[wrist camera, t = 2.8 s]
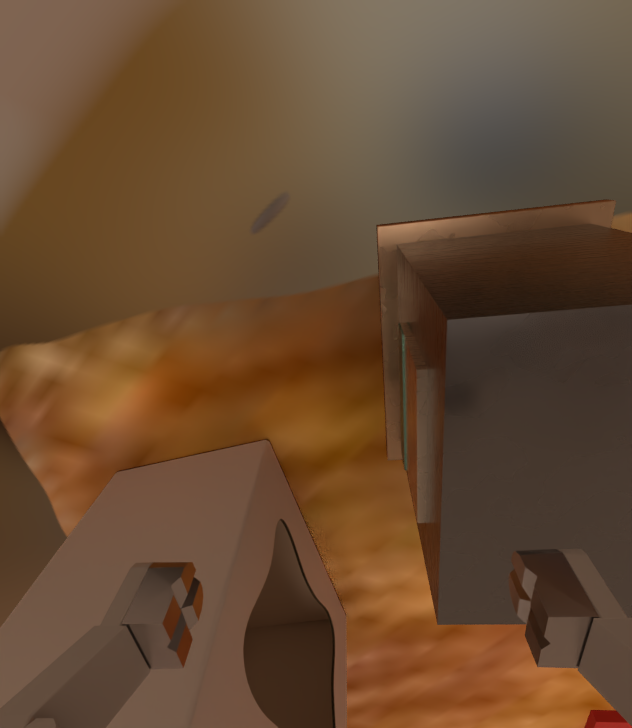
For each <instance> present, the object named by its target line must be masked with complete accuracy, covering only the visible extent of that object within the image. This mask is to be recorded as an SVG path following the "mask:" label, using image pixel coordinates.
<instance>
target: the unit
mask: <svg viewBox="0 0 632 728" xmlns="http://www.w3.org/2000/svg"><path fill="white" fill-rule="evenodd" d="M615 203H616V201H614V200H598V201H589V202H580V203H571V204H563V205H553V206H544V207H535V208H526V209H518V210H508V211H500V212H490V213H481V214H472V215H463V216H453V217H445V218H435V219H426V220H417V221H408V222H399V223H391V224H382V225H377V247H378V269H379V292H380V314H381V335H382V357H383V379H384V401H385V423H386V445H387V457H388V460H403V464H404V469H405V470H406V471H407V476H408V481H409V486H410V491H411V496H412V501H413V506H414V511H415V516H416V521H417V526H418V530H419V535H420V540H421V545H422V550H423V555H424V560H425V565H426V570H427V575H428V580H429V585H430V590H431V595H432V600H433V605H434V609H435V614H436V619H437V624H438V625H449V624H526V623H525V622H524V621H523V620H521V619H520V618H519V617H518V616H517V614H516V611H515V609H514V606H513V603H512V600H511V596H510V590H509V573H510V572H512V571H513V570H514V566H513V564H512V562H511V559H512V554H513V552H514V551H522V550H543V549H557V550H559V549H582V550H583V551H584V552H586V554H587V555H588V557H589V558H590V560H591V561H592V563H593V565H594V566H595V568H596V569H597V571H598V572H599V574H600V575H601V577H602V579H603V580H604V582H605V583H606V585H607V586H608V588H609V589H610V591H611V592H612V594H613V596H614V597H615V599H616V600H617V602H618V603H619V605H620V606H621V608H622V610H623V611H624V613H625V614H626V616H627V617H630V618H632V233H629V232H625V231H621V230H617V229H612V228H611V224H612V219H613V214H614V209H615Z"/></svg>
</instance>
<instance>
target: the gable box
mask: <svg viewBox="0 0 632 728" xmlns="http://www.w3.org/2000/svg"><path fill="white" fill-rule="evenodd" d="M145 562H193V564H194V567H195V569H196V572H195V575H194V577H195V578H196V579H197V580H199V581H200V582H201V585H202V588H203V604H202V611H201V614H200V617H199V621H198V622H197V623H196V624H195V625H194V626H193V627H192V628H191V629H190V632H191V635H192V639H193V640H192V643H191V646H190V650H189V653H188V656H187V659H186V662H185V665H184V668H179V669H151V670H150V671H151V672H150V673H149V675H148V676H147V677H146V678H145V680H144V681H143V682H142V683H141V685H140V686H139V687H138V688H137V690H136V691H135V692H134V693H133V694H132V696H131V697H130V698H129V699H128V701H127V702H126V703H125V704H124V706H123V707H122V708H121V709H120V711H119V712H118V713H117V714H116V716H115V717H114V718H113V719H112V721H111V722H110V723H109V724H108V726H107V727H106V728H347V659H346V615H345V612H344V610H343V608H342V606H341V603H340V601H339V599H338V596H337V594H336V592H335V590H334V587H333V585H332V583H331V581H330V578H329V576H328V574H327V571H326V569H325V567H324V565H323V562H322V560H321V558H320V555H319V553H318V551H317V549H316V546H315V544H314V542H313V540H312V537H311V535H310V533H309V530H308V528H307V526H306V524H305V521H304V519H303V517H302V515H301V512H300V510H299V508H298V505H297V503H296V501H295V499H294V496H293V494H292V492H291V490H290V487H289V485H288V483H287V480H286V478H285V476H284V474H283V471H282V469H281V467H280V464H279V462H278V460H277V458H276V455H275V453H274V451H273V449H272V446H271V444H270V442H269V441H267V440H262V441H258V442H253V443H248V444H244V445H239V446H235V447H230V448H226V449H221V450H216V451H212V452H207V453H203V454H198V455H193V456H189V457H184V458H180V459H175V460H171V461H166V462H161V463H157V464H152V465H148V466H143V467H138V468H134V469H129V470H125V471H120V472H116V473H115V475H114V476H113V477H112V479H111V480H110V481H109V483H108V484H107V485H106V487H105V488H104V489H103V491H102V492H101V493H100V495H99V496H98V497H97V499H96V500H95V501H94V503H93V504H92V505H91V507H90V508H89V509H88V511H87V512H86V514H85V515H84V516H83V518H82V519H81V520H80V522H79V523H78V524H77V526H76V527H75V528H74V530H73V531H72V532H71V534H70V535H69V536H68V538H67V539H66V541H65V542H64V543H63V544H62V546H61V547H60V549H59V550H58V551H57V553H56V554H55V555H54V557H53V558H52V559H51V561H50V562H49V563H48V565H47V566H46V567H45V569H44V570H43V571H42V573H41V574H40V575H39V577H38V578H37V579H36V581H35V582H34V583H33V585H32V586H31V587H30V589H29V590H28V591H27V593H26V594H25V595H24V597H23V598H22V599H21V601H20V602H19V604H18V605H17V606H16V607H15V609H14V610H13V612H12V613H11V614H10V616H9V617H8V618H7V620H6V621H5V622H4V624H3V625H2V626H1V628H0V708H1V707H2V706H3V705H5V704H6V703H7V702H8V701H9V700H10V699H11V698H13V697H14V696H15V695H16V694H17V693H18V692H19V691H21V690H22V689H23V688H24V687H25V686H26V685H27V684H29V683H30V682H31V681H32V680H33V679H34V678H35V677H37V676H38V675H39V674H40V673H41V672H42V671H43V670H45V669H46V668H47V667H48V666H49V665H50V664H51V663H53V662H54V661H55V660H56V659H57V658H58V657H59V656H60V655H62V654H63V653H64V652H65V651H66V650H67V649H68V648H70V647H71V646H72V645H73V644H74V643H75V642H76V641H78V640H79V639H80V638H81V637H82V636H83V635H84V634H86V633H87V632H88V631H89V630H90V629H91V628H92V627H94V626H100V624H101V622H102V621H103V619H104V617H105V615H106V613H107V611H108V609H109V607H110V605H111V603H112V602H113V600H114V598H115V596H116V594H117V592H118V590H119V588H120V586H121V585H122V583H123V581H124V579H125V577H126V575H127V573H128V571H129V569H130V568H131V567H132V566H133V565H134V564H135V563H145Z"/></svg>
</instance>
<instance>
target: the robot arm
mask: <svg viewBox="0 0 632 728" xmlns="http://www.w3.org/2000/svg"><path fill="white" fill-rule="evenodd" d="M511 562H512V564H513V566H514V570H513V571H512V572H510V573H509V590H510V596H511V600H512V603H513V606H514V609H515V611H516V614H517V616H518V617H519V618H520V619H521V620H523V621H524V622H525V623H526V624H527V626H526V632H525V637H526V639H527V642H528V644H529V647H530V649H531V652H532V654H533V657H534V659H535V662H536V664H537V667H556V668H578V671H579V672H580V673H581V674H582V675H583V676H584V677H585V678H586V679H587V680H588V681H589V682H590V683H591V685H592V686H593V687H594V688H595V689H596V690H597V691H598V692H599V693H600V694H601V695H602V696H603V697H604V698H605V699H606V700H607V701H608V702H609V703H610V704H611V705H612V706H613V707H614V709H615V710H616V711H617V712H618V713H619V714H620V715H621V716H622V717H623V718H624V719H625V720H626V721H627V722H628V723H629V724H630V725H631V726H632V618H630V617H627V616H626V614H625V613H624V611H623V610H622V608H621V606H620V605H619V603H618V602H617V600H616V599H615V597H614V596H613V594H612V592H611V591H610V589H609V588H608V586H607V585H606V583H605V582H604V580H603V579H602V577H601V575H600V574H599V572H598V571H597V569H596V568H595V566H594V565H593V563H592V561H591V560H590V558H589V557H588V555H587V554H586V552H584V551H583V550H582V549H559V550H557V549H543V550H522V551H514V552H513V554H512V559H511ZM195 572H196V569H195V567H194V564H193V562H145V563H135V564H134V565H133V566H132V567H131V568H130V569H129V571H128V573H127V575H126V577H125V579H124V581H123V583H122V585H121V586H120V588H119V590H118V592H117V594H116V596H115V598H114V600H113V602H112V603H111V605H110V607H109V609H108V611H107V613H106V615H105V617H104V619H103V621H102V622H101V624H100V626H94V627H92V628H91V629H90V630H89V631H88V632H87V633H86V634H84V635H83V636H82V637H81V638H80V639H79V640H78V641H76V642H75V643H74V644H73V645H72V646H71V647H70V648H68V649H67V650H66V651H65V652H64V653H63V654H62V655H60V656H59V657H58V658H57V659H56V660H55V661H54V662H53V663H51V664H50V665H49V666H48V667H47V668H46V669H45V670H43V671H42V672H41V673H40V674H39V675H38V676H37V677H35V678H34V679H33V680H32V681H31V682H30V683H29V684H27V685H26V686H25V687H24V688H23V689H22V690H21V691H19V692H18V693H17V694H16V695H15V696H14V697H13V698H11V699H10V700H9V701H8V702H7V703H6V704H5V705H3V706H2V707H1V708H0V728H106V727H107V726H108V724H109V723H110V722H111V721H112V719H113V718H114V717H115V716H116V714H117V713H118V712H119V711H120V709H121V708H122V707H123V706H124V704H125V703H126V702H127V701H128V699H129V698H130V697H131V696H132V694H133V693H134V692H135V691H136V690H137V688H138V687H139V686H140V685H141V683H142V682H143V681H144V680H145V678H146V677H147V676H148V675H149V673H150V672H151V671H150V670H151V669H179V668H184V665H185V662H186V659H187V656H188V653H189V650H190V646H191V643H192V640H193V639H192V635H191V632H190V629H191V628H192V627H193V626H194V625H195V624H196V623H197V622H198V621H199V617H200V614H201V611H202V604H203V588H202V585H201V582H200V581H199V580H197V579H196V578H195V577H194V575H195Z"/></svg>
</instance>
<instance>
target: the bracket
mask: <svg viewBox="0 0 632 728" xmlns="http://www.w3.org/2000/svg"><path fill="white" fill-rule="evenodd" d="M585 728H632V726H631V725H630V724H629V723H628V722H627V721H626V720H625V719H624V718H623V717H622V716H621V715H620V714H619V713H618V712H617V711H607V710H591V712H590V715H589V717H588V720H587V723H586V725H585Z"/></svg>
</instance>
